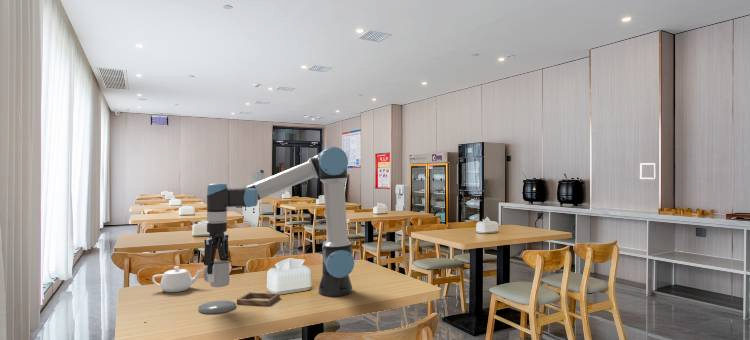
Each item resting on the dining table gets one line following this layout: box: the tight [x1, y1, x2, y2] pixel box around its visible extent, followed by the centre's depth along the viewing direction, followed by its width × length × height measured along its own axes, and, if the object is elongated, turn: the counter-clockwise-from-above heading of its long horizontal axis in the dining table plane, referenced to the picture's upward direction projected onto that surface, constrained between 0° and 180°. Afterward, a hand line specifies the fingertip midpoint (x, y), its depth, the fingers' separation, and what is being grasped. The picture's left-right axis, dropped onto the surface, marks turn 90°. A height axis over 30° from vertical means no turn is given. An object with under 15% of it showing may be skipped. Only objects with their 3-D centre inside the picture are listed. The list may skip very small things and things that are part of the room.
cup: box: [202, 260, 230, 288], centre depth 171 cm, size 7×10×9 cm
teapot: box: [151, 265, 203, 293], centre depth 199 cm, size 22×14×11 cm, turn 109°
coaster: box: [197, 300, 237, 315], centre depth 171 cm, size 14×14×1 cm
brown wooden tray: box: [236, 291, 281, 307], centre depth 181 cm, size 14×11×2 cm
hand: (216, 279), depth 171 cm, fingers closed on cup, 7 cm apart
